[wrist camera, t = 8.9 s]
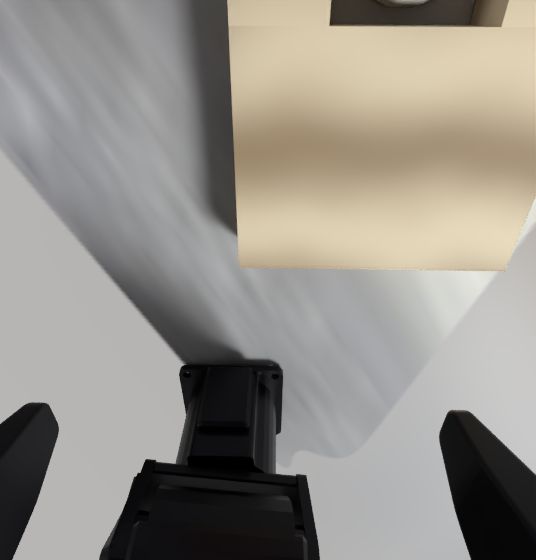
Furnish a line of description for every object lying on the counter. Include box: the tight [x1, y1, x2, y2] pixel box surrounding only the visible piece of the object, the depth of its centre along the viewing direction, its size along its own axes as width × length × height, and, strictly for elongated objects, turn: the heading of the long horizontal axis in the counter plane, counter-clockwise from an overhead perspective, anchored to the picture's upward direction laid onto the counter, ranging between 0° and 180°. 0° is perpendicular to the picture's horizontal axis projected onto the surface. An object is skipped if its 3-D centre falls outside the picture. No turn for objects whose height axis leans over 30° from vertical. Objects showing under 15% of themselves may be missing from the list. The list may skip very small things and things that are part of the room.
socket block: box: [227, 0, 536, 271], centre depth 14 cm, size 18×12×2 cm, turn 0°
